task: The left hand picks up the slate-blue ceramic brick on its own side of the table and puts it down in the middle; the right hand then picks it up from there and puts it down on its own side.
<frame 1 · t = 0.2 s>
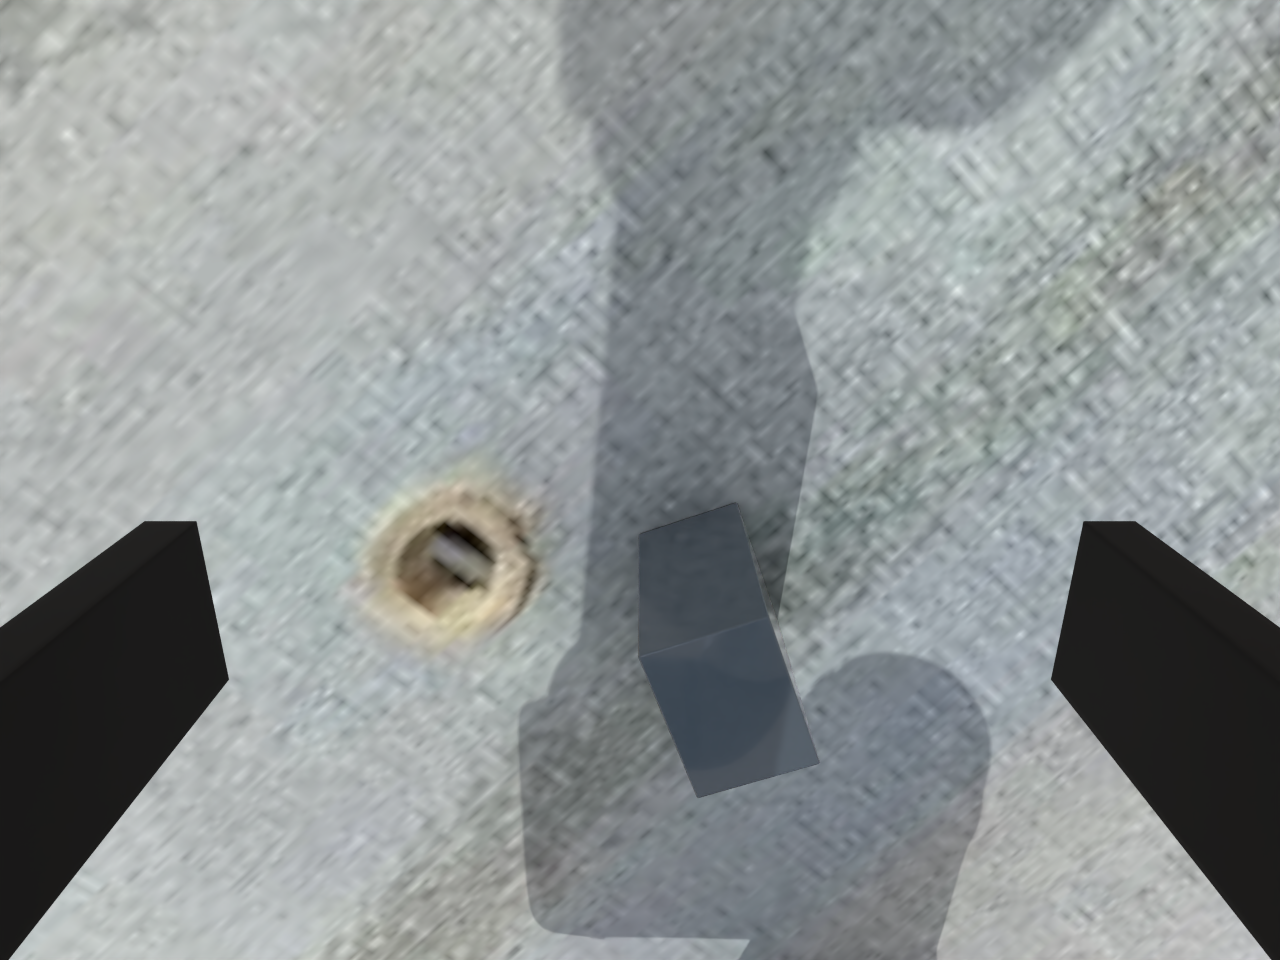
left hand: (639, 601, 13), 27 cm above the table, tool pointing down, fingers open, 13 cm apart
brick: (709, 578, 43), on the table
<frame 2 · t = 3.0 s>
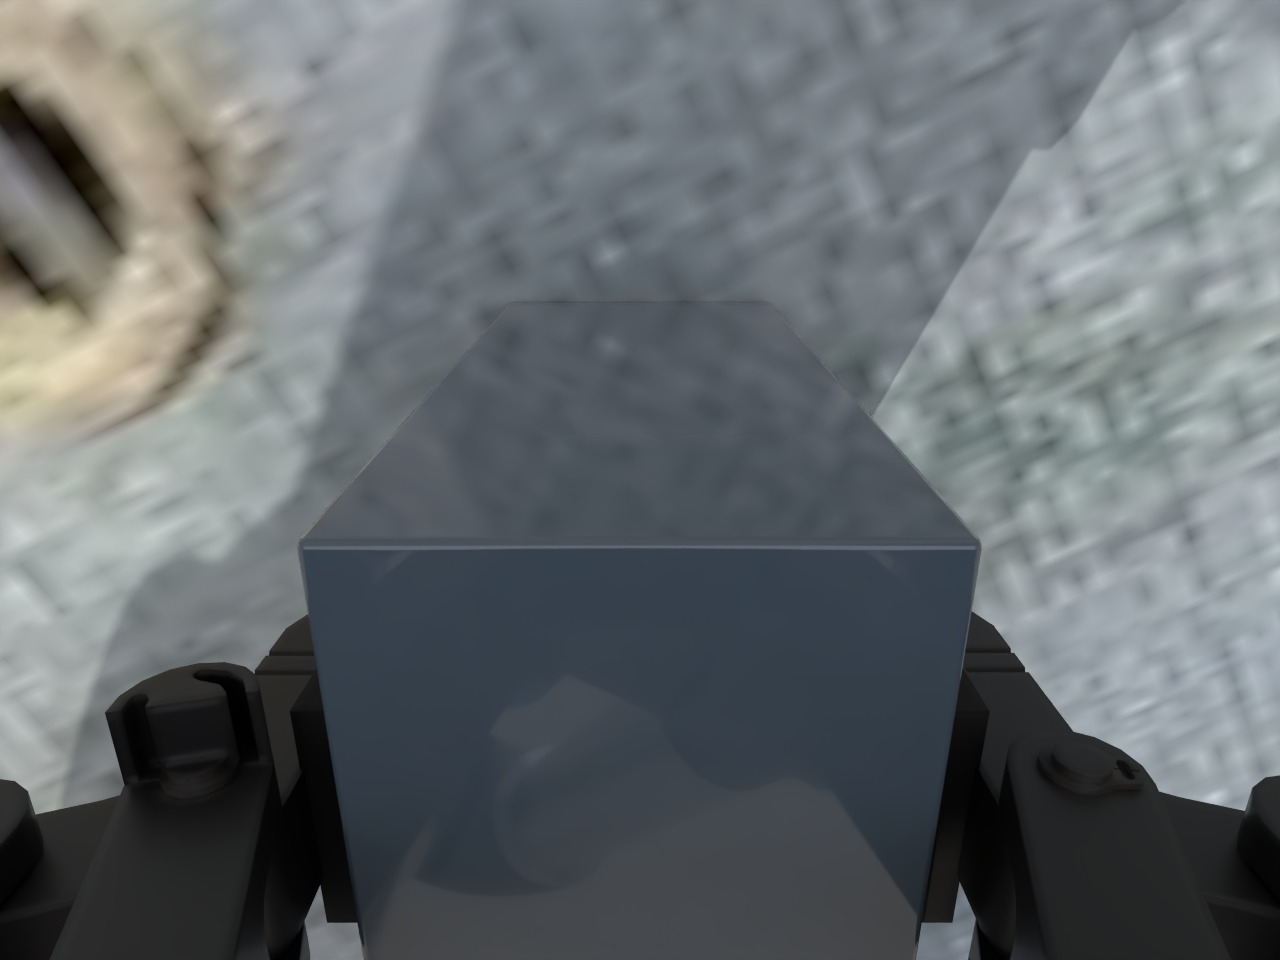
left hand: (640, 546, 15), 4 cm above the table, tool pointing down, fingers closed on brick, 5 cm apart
brick: (639, 472, 18), on the table, touching left hand
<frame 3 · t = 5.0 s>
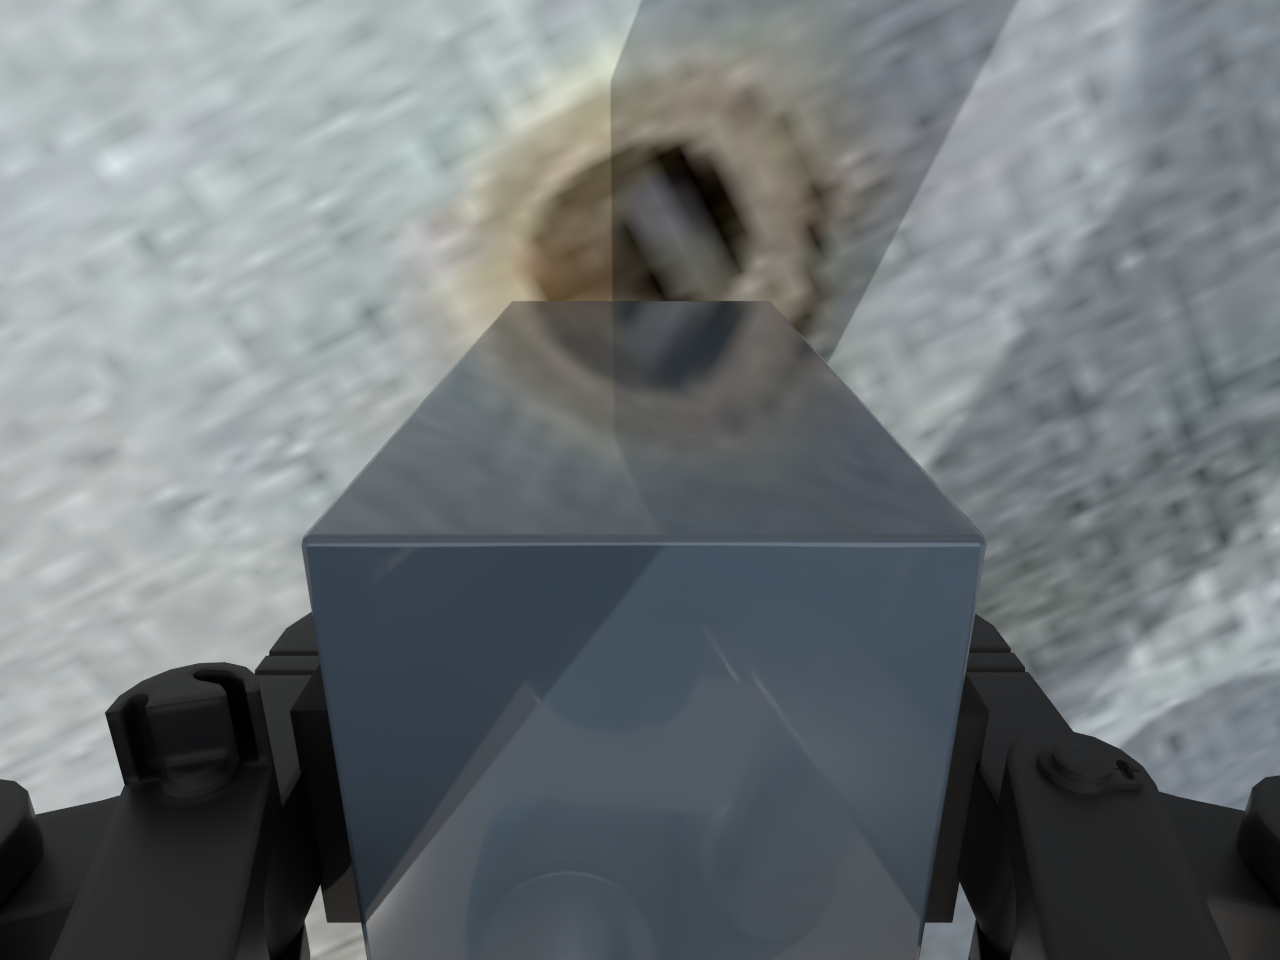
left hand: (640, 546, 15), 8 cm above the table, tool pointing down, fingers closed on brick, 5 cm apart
brick: (641, 471, 18), point 4 cm above the table, touching left hand
when the left hand's fingers open (5 cm above the table, at t = 7.2 s): brick drops 1 cm, on the table.
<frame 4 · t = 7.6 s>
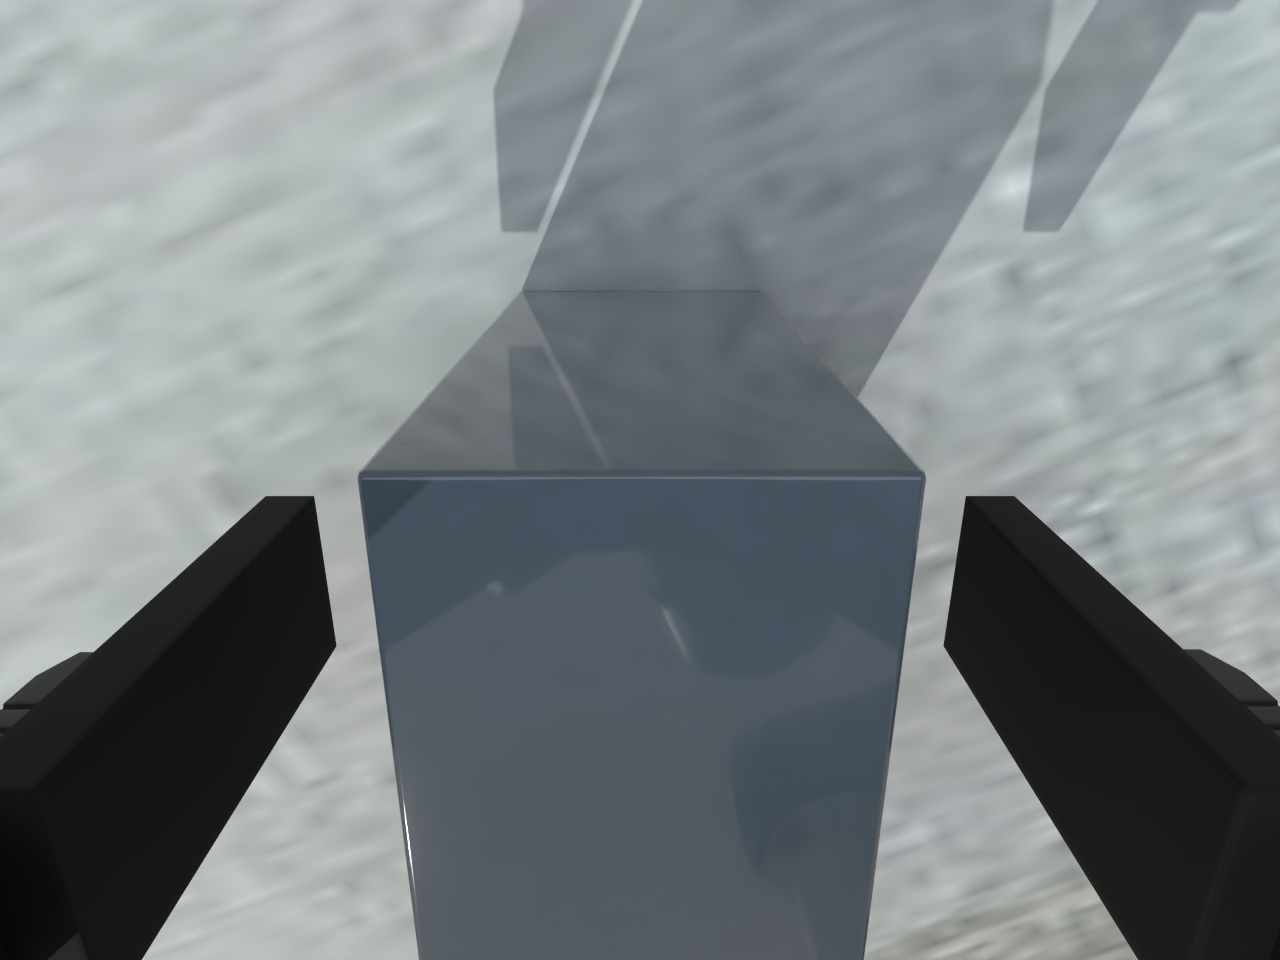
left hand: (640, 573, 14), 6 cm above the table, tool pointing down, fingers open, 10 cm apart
brick: (640, 450, 19), on the table
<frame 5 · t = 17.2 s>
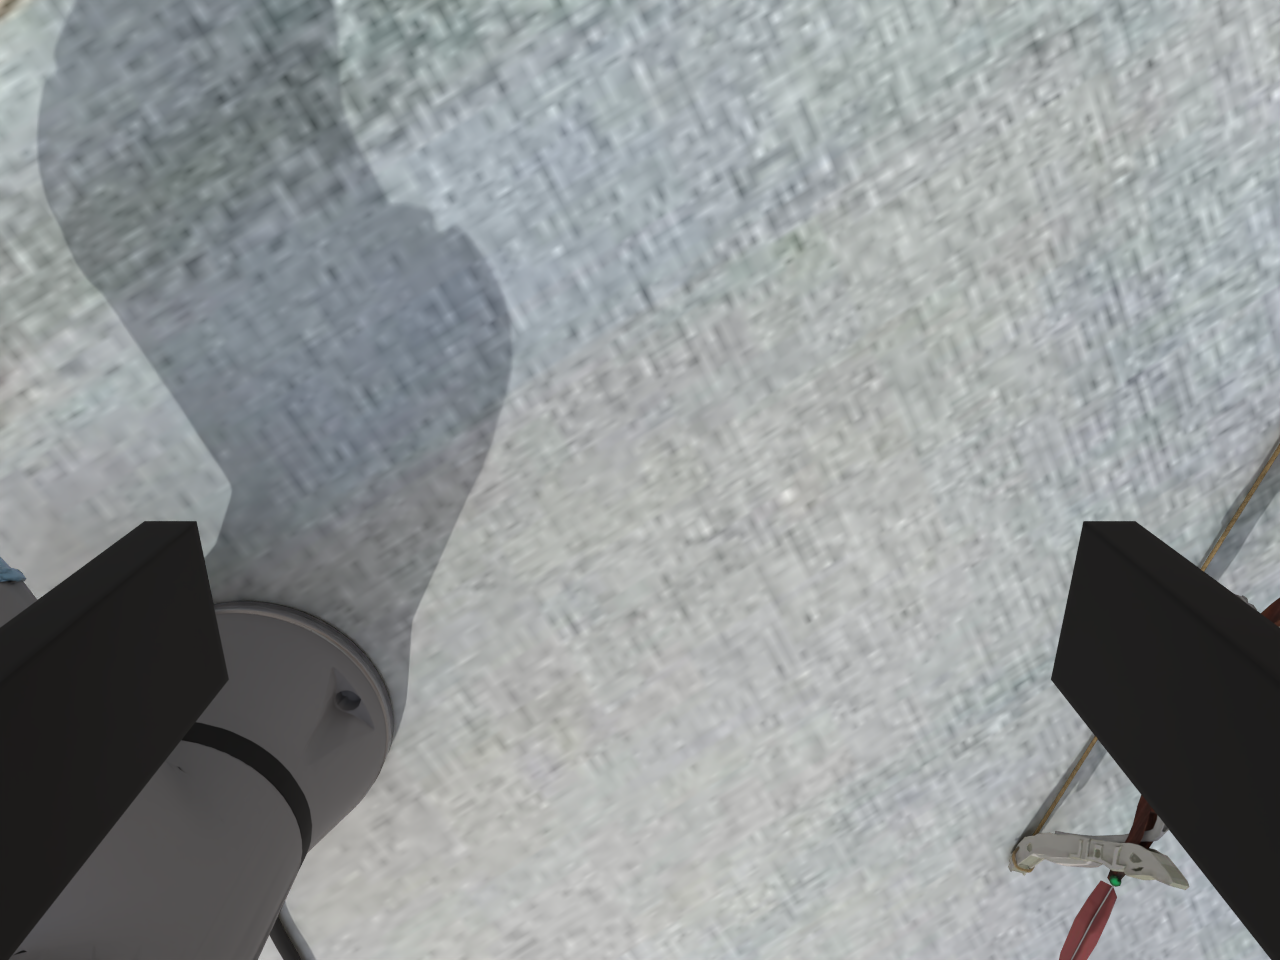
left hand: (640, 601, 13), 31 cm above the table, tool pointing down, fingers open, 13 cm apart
bow: (1146, 648, 49), on the table
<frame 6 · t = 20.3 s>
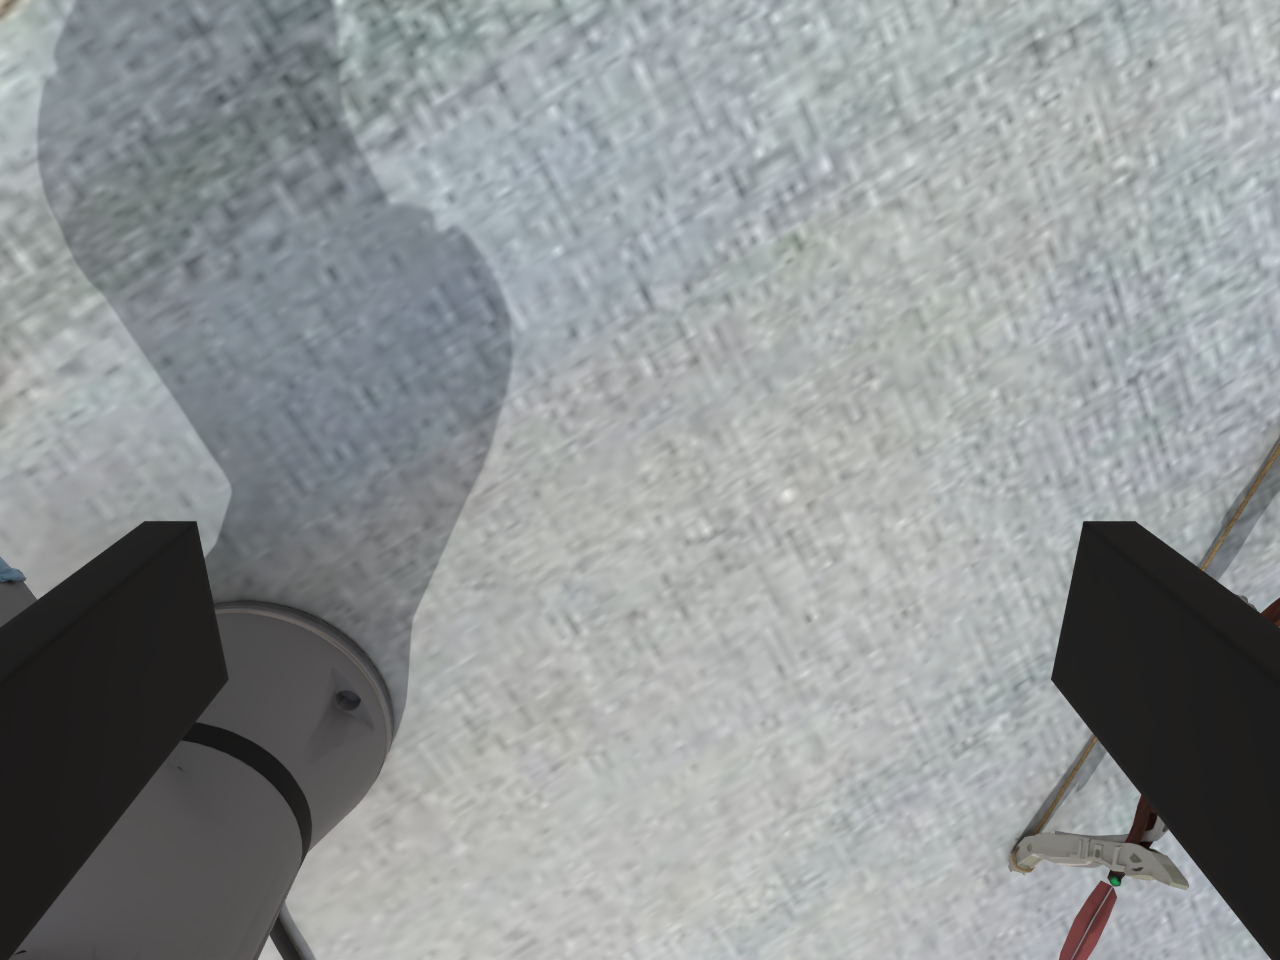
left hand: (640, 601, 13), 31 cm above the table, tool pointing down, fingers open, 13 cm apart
bow: (1146, 648, 49), on the table
when the right hand's fingers open (5 cm above the table, at t = 23.8 s): brick drops 1 cm, on the table.
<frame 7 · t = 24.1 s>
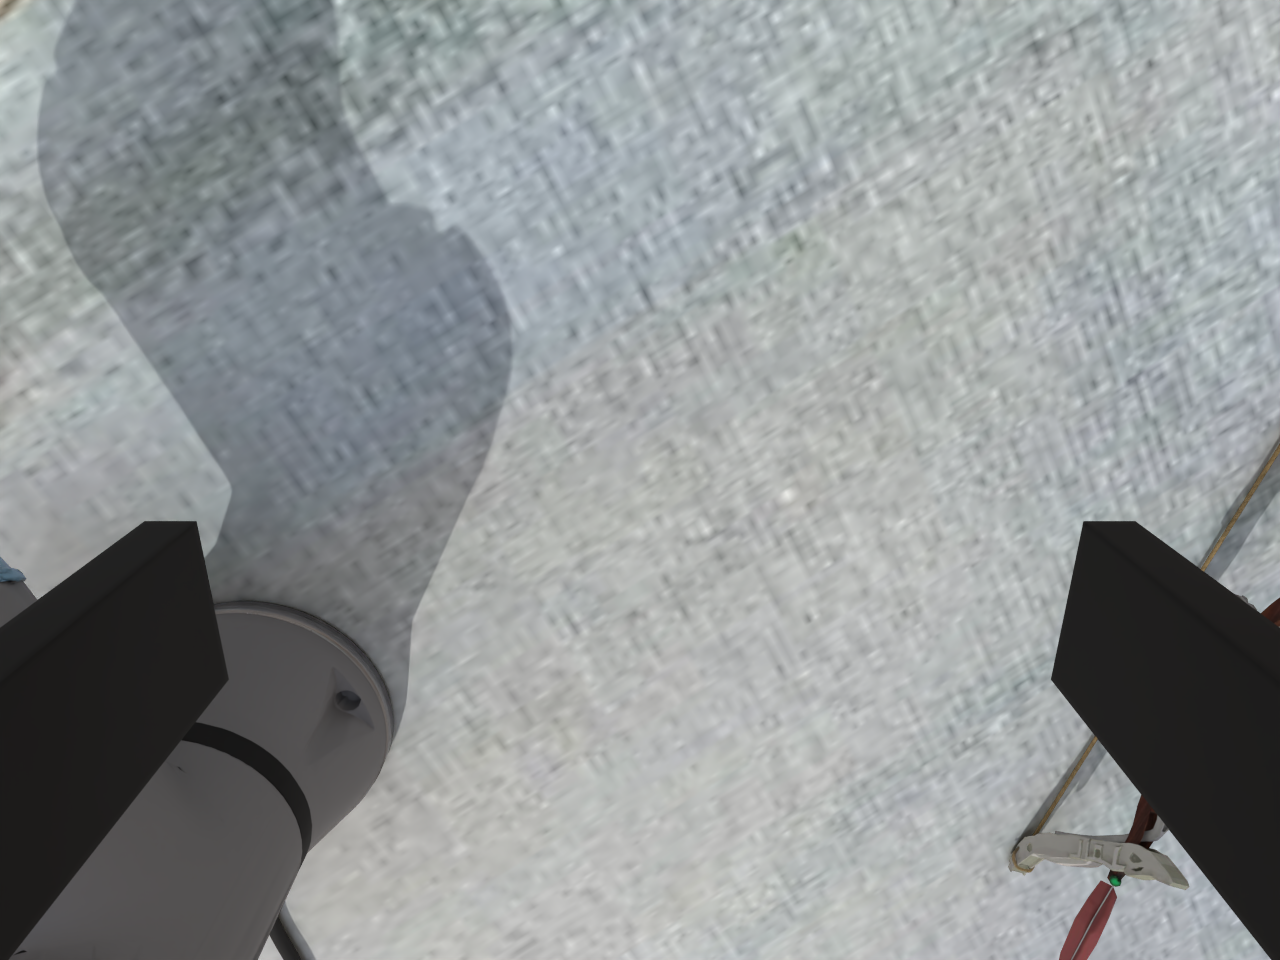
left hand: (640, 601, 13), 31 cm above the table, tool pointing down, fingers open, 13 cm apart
bow: (1146, 648, 49), on the table
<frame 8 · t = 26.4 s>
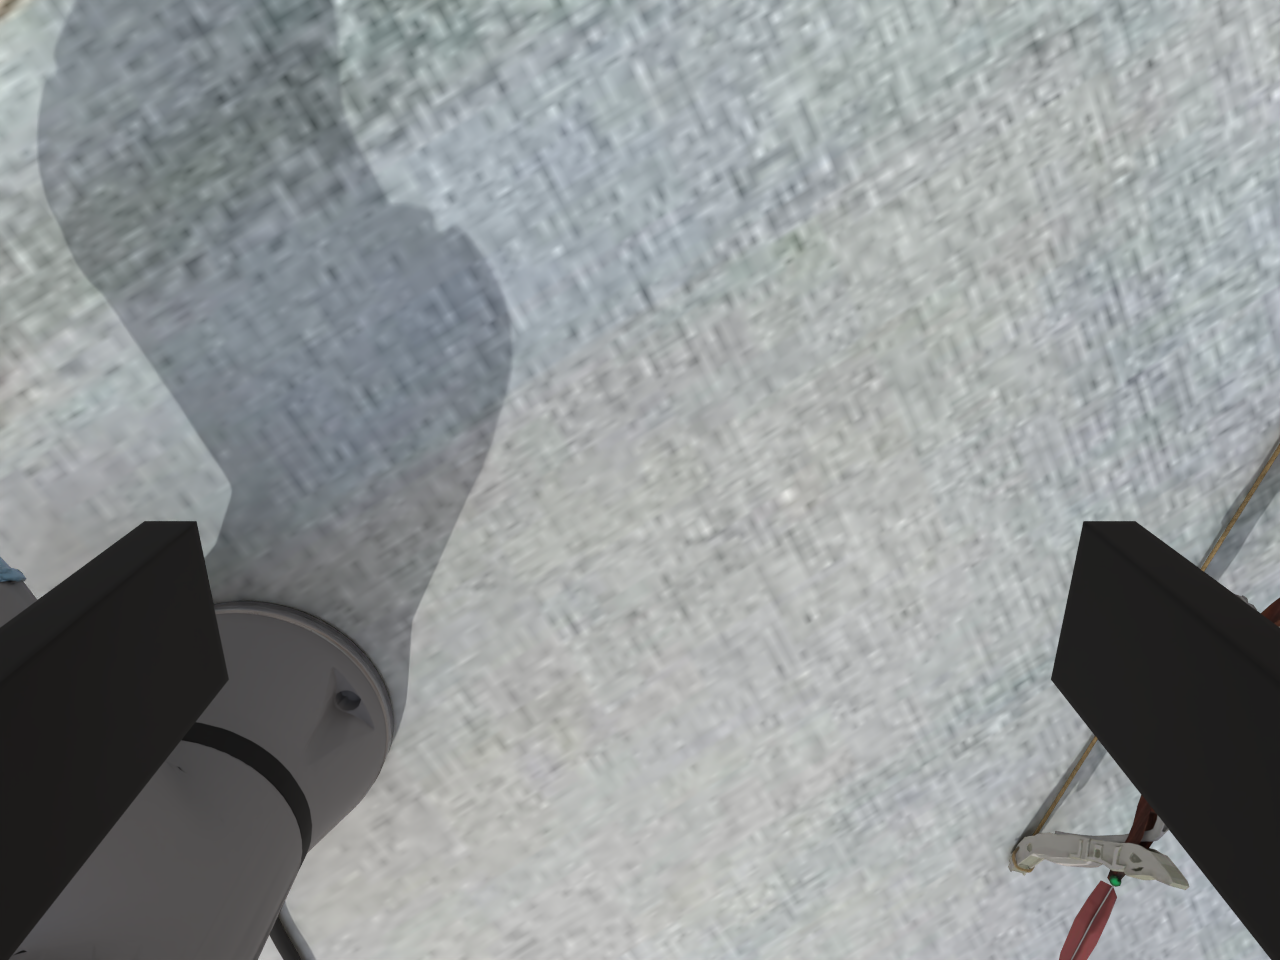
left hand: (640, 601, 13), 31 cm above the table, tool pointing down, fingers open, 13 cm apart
bow: (1146, 648, 49), on the table
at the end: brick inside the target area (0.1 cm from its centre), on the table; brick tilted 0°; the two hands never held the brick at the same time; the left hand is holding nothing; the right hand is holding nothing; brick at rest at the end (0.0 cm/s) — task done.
